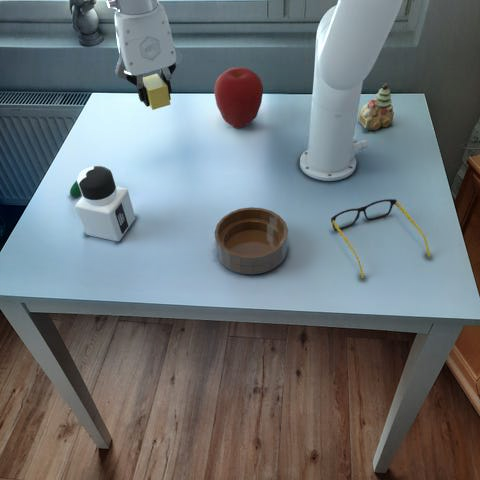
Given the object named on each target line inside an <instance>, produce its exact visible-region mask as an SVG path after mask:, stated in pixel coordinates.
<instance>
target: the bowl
mask: <svg viewBox="0 0 480 480" xmlns="http://www.w3.org/2000/svg"><path fill="white" fill-rule="evenodd" d="M214 240H215V242H214V243H215V250H216V255H217V258H218V260H219V261H220V263H222V265H223V266H224V267H225V268H227V269H229V271H233V272H235V273H238V274H243V275H257V274H258V275H259V274H264V273H266V272H269V271H271V270H272V271H273V270H274V269H275V268H277V267H278V266H279V265H281V263H283V261H284V259H285V258H286V256H287V254H288V253H287V252H288V242H289V241H288V240H289V229H288V226H287V222H286V221H285V220H284V219H283V218H282V217H281V216H280V215H279V214H278V213H276V212H274V211H272V210H270V209H267V208H263V207H251V206H250V207H243V208H238V209H236V210H233V211H230V212H228V213H227V214H226V215H224V216H222V217H221V218H220V219H219V221H218V223H217V224H216V225H215V229H214Z"/></svg>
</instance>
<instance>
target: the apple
mask: <svg viewBox="0 0 480 480" xmlns="http://www.w3.org/2000/svg"><path fill="white" fill-rule="evenodd" d="M263 93H264V86H263V83H262V81H261V78H260V77H259V75H258V74H257V73H255V72H254V71H253V70H251V69H250V68H248V67H241V66H240V67H231V68H228V69H226V70H225V71H224V72H222V74H220V75H219V77H217V79H216V81H215V85H214V90H213V94H214V99H215V103H216V106H217V108H218V111H219V113H220V115H221V117H222V119H223V121H224V122H226V123H227V124H228V125H230V126H231V127H233V128H237V129H239V128H243V127H247V125H249V124H250V123H252V122H253V121H254V120H255V119H256V118H257V117H258V114H259V110H260V108H261V106H262V103H263V102H262V101H263Z"/></svg>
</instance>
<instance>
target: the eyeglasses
mask: <svg viewBox="0 0 480 480" xmlns="http://www.w3.org/2000/svg"><path fill="white" fill-rule="evenodd" d="M385 202H386V203H387V202H389V203H390V205H389V209H388V211H387V212H386V213H384V214H382V215H378V216H375V217H368V216H367V211H366V210H367V209H368V208H369V207H371V206H374V205H376V204H380V203H385ZM394 205H395V206H396V207H397V209H399V210H400V212H402V213H403V215H404V216H405V217H406V218H407V219H408V221H409V222H410V223H411V224H412V225H413V226H414V227H415V228H416V230H417V231H418V232H419V233H420V235H421V237H422V238H423V241H424V243H425V249H426V255H427V257H428V258H431V252H430V247H429V245H428V244H429V243H428V241H427V238H426V236H425V234H424V232H423V231H422V230H421V229H420V227H419V226H418V225H417V223H416V222H415V221H414V219H413V218H412V217H411V216H410V215H409V213H408V212H407V211H406V210H405V208H404V207H403V206H402V205H401V204H400V203H399V201H398V200H397V199H396V198H389V199H381V200H376V201H373V202H371V203H369V204H367V205H365V206H361V207H357V208H356V207H355V208H349V209H346V210H342V211H340V212H338V213H337V214H335V215H334V216H332V217H331V218H330V222H331V226H332V228H333V230H334V231H337V232H338V233H339V234H340V236H341V237H342V238H343V241H345V243H346V244H347V246H349V248H350V250H351V251H352V252H353V254H354V256H355V258H356V260H357V263H358V267H359V271H360V275H361V278H362V279H364V278H365V275H364V272H363V267H362V264H361V261H360V258H359V255H358V254H357V252H356V251H355V249H354V247H353V246H352V244H351V243H350V242H349V239H347V237H346V236H345V235H344V233H343V232H342V230H344V229H346V228H349V227H351V226H353V225H354V224H355V223H356V222H357V221H358V220H359V219H360V215H361V212H363V215H364V217H365V219H366V220H368V221H373V220H377V219H381V218H385V217H387V216H389V214H390V213H391V212H392V209H393V206H394ZM354 211H355V212H357V213H356V216H355V217H354V220H353V221H352V222H351V223H350V224H348V225H345V226H341V227H339V226H338V224H337V222H336V219H337V217H339V216H341V215H343V214H345V213H349V212H354Z"/></svg>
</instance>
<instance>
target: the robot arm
mask: <svg viewBox="0 0 480 480" xmlns="http://www.w3.org/2000/svg"><path fill="white" fill-rule="evenodd" d="M403 1H404V0H337V4H336V5H334V6H332V7H331V8H329V9H328V10H327V11H326V12H325V14H324V15H323V16H322V18H321V20H320V22H319V24H318V27H317V31H316V36H315V52H314V53H315V55H314V71H313V83H312V84H313V85H312V96H311V105H310V120H309V132H308V142H307V149H306V150H305V151H304V152H303V153H302V154H301V156H300V158H299V166H300V169H301V171H302V172H303V173H304V174H305V175H307V176H308V177H310V178H312V179H314V180H318V181H322V182H335V181H341V180H343V179H346V178H348V177H350V176H351V175H352V174H353V173H354V172H355V170H356V168H357V158H356V156H355V155H357V154H358V153H359V152H360V151H364V150H366V149H368V148H369V147H370V143H369V141H368V140H367V139H363V140H360V141H358V138H357V137H356V136H355V131H356V125H357V119H358V115H359V108H360V107H359V106H360V101H361V96H362V90H363V85H364V84H363V83H364V80H365V79H366V78H367V77H368V76H369V74H370V73H371V71H372V70H373V67H374V66H375V64H376V62H377V60H378V58H379V55H380V54H381V51H382V49H383V47H384V45H385V43H386V40H387V38H388V37H389V34H390V32H391V30H392V27H393V26H394V23H395V21H396V19H397V17H398V14H399V12H400V10H401V7H402V4H403ZM106 4H107V7H108V9H114V10H115V11H114V26H115V34H116V42H117V47H118V53H119V58H118V61H117V64H116V67H115V71H114V74H115V76H116V77H117V78H119V79H122V80H125V81H128V82H129V83H131V84H132V85H134V86H136V92H137V96H138V99H139V101H140V102H141V103H143V104H144V105H145V107H150V106H149V105H150V104H149V99H148V94H147V90H146V87H145V86H144V83H143V77H144V74H147V73H151V72H154V71H158V70H159V71H160V75H159V77H160V78H161V79H162V80H163V81H164V82H165V84H166V85H167V87H168V93H169V99H170V101H171V100H172V98H171V94H172V93H173V90H172V85H171V80H172V75H173V73H174V72H175V70H176V68H177V66H178V65H179V64H180V63H181V62H182V61H183V59H184V56H183V55H182V53H181V52H180V51H179V50H178V49H177V48H176V46H175V43H174V38H173V34H172V29H171V26H170V23H169V19H168V16H167V12H166V10H165V7H164V5H163V4H161V3H160V2H159V0H106Z"/></svg>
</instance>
